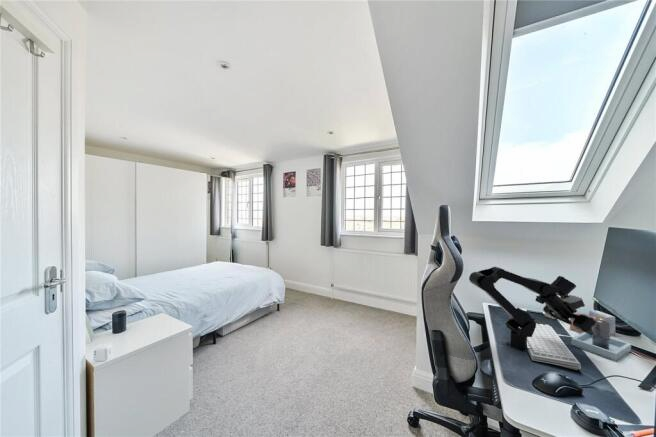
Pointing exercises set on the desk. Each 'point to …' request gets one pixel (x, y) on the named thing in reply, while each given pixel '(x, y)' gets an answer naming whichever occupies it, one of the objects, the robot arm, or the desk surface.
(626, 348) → the trough
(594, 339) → the block
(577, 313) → the orange open box
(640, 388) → the desk surface
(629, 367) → the desk surface
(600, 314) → the medicine box
